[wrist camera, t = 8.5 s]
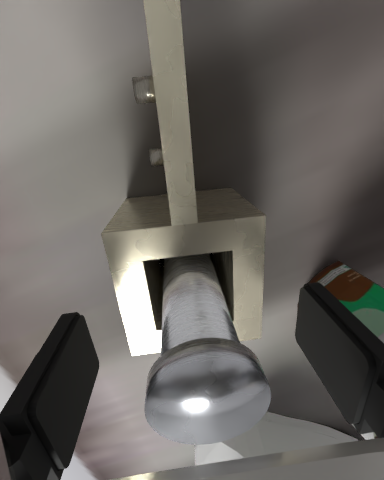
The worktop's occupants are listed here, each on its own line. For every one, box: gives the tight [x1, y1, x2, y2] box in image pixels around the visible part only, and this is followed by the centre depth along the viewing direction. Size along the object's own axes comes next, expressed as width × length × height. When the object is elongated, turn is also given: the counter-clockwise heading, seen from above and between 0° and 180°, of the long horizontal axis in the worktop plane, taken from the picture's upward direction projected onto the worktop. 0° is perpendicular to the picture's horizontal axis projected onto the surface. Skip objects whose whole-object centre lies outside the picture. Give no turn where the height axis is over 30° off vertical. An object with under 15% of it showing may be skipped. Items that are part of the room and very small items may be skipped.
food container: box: [297, 261, 384, 440], centre depth 18 cm, size 12×6×10 cm, turn 25°
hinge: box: [101, 0, 266, 356], centre depth 16 cm, size 24×8×7 cm, turn 5°
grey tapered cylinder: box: [145, 253, 271, 445], centre depth 13 cm, size 4×4×13 cm
